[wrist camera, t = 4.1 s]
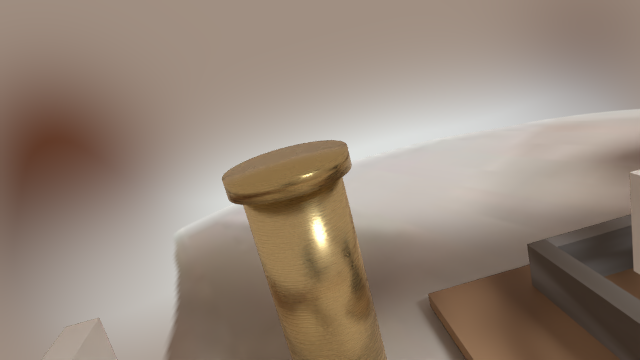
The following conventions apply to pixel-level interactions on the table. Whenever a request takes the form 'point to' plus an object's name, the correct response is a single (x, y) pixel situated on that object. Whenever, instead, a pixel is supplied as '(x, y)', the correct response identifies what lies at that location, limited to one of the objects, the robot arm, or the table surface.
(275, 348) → the table surface
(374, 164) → the table surface
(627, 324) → the wooden board with frame
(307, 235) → the brass fitting
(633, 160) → the table surface
